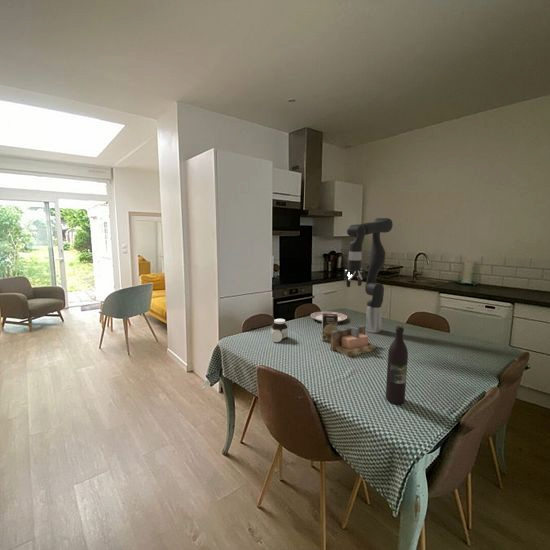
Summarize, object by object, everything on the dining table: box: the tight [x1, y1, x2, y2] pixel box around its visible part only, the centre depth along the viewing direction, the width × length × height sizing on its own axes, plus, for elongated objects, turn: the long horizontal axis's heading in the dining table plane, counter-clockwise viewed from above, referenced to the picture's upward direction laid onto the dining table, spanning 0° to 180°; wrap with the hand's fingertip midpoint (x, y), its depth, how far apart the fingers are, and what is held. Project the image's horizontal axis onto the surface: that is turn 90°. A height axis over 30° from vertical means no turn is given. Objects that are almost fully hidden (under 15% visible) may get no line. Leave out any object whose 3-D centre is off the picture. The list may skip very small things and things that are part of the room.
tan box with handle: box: [341, 326, 369, 350], centre depth 166 cm, size 14×6×13 cm, turn 117°
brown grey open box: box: [330, 324, 376, 358], centre depth 167 cm, size 24×12×11 cm, turn 118°
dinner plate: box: [310, 311, 348, 323], centre depth 226 cm, size 28×27×3 cm
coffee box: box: [320, 313, 339, 343], centre depth 181 cm, size 9×6×16 cm
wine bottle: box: [385, 325, 409, 405], centre depth 115 cm, size 7×7×30 cm
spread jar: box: [270, 318, 289, 343], centre depth 182 cm, size 12×11×12 cm
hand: (353, 286), depth 176 cm, fingers open, 8 cm apart
